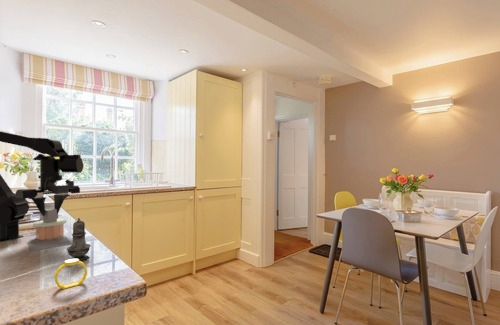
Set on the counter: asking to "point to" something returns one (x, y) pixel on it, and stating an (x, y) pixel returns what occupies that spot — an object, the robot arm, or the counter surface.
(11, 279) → the counter surface
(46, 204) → the pill bottle
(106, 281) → the counter surface
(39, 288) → the counter surface
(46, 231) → the bowl
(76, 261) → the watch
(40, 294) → the counter surface
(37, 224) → the lid
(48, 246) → the mat
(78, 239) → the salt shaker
